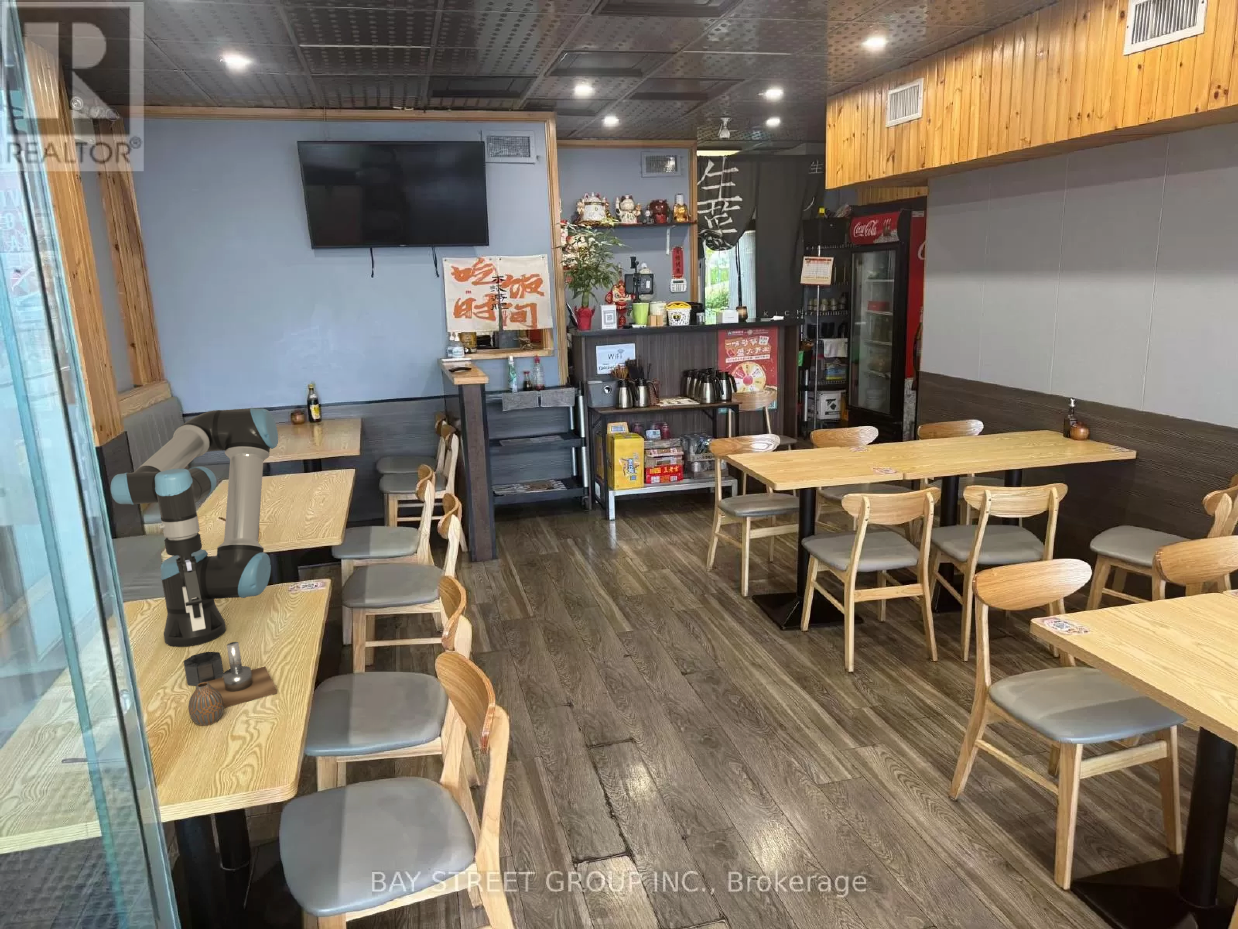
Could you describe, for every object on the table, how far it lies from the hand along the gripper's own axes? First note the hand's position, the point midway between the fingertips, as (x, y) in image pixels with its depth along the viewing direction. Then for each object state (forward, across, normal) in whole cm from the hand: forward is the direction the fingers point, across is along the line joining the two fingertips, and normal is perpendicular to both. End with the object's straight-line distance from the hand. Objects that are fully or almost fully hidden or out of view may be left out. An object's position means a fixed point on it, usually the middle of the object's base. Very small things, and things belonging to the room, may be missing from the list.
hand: (195, 620), depth 200 cm
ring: (+15, 0, 0) cm, 15 cm away
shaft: (+14, +12, +6) cm, 19 cm away
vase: (+16, +23, -2) cm, 28 cm away
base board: (+15, +12, +6) cm, 20 cm away
